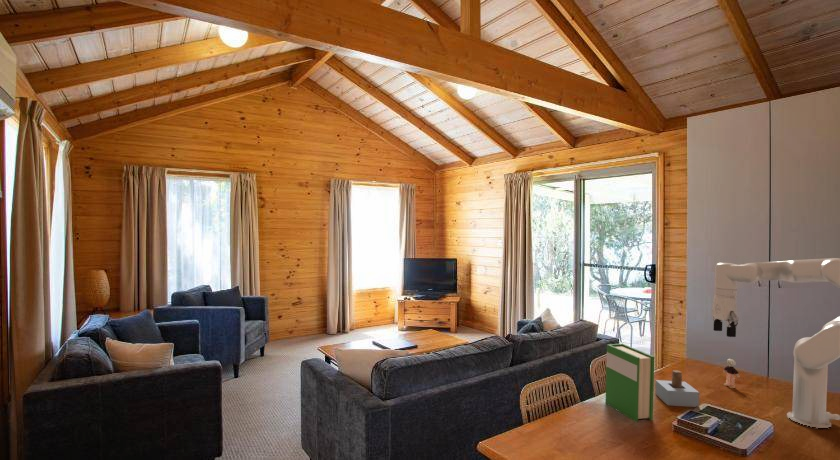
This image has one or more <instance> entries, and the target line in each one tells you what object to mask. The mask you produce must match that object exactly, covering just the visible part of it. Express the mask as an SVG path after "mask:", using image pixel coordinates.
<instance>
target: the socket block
mask: <svg viewBox="0 0 840 460" xmlns="http://www.w3.org/2000/svg"><path fill="white" fill-rule="evenodd" d="M654 387H655V388H654V390H655V391H654V392H655V393H654V394H655V395H656V396H657V397H658V399H660V400H661V401H663V403H664V404H666V406H674V407H675V406H676V407H688V408H689V407H692V408H693V407H694V408H697V407H696V406H699V407H700V392H699V391H698V390H697V389H696V388H694V386H692V385H690V384H689V383H687V382H686V381H683V380H682V388H672V380H663V379H660V380H659V379H656V380H655V383H654Z"/></svg>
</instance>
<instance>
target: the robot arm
mask: <svg viewBox="0 0 840 460" xmlns="http://www.w3.org/2000/svg"><path fill="white" fill-rule="evenodd" d="M714 274H715V275H714V276H715V277H714V296H713V301H712V308H711V316H712V317H713V318H712V320H713V321H712V322H713V331H714V332H722V331H723V322H726V324H727V326H726V337H728V338H736V335H737V328H738V324H739V320H740V319H739V316H738V311H737V310H738V306H737V304H738V303H737V295H738V294H737V293H738V292H737V290H738V282H740V283H743V284H744V283H745V284H753V283H755V282H759V281H763V282H764V281H784V282H788V283H821V282H822V283H823V282H824V283H825V282H826V283H827V282H829V283H830V284H832V285H833V286H835V287H837V288H838V289H840V257H831V258H829V257H828V258H813V259H808V258H807V259H792V260H790V259H789V260H782V261H763V262H748V263H744V264H735V263H733V262H731V263H730V262H718V263H716V265H715V271H714ZM792 355H793V359H794V362H793V383H792V411H788V412H787V413H786V417H787V419H789V418H790V419H791V420H793V421H795V422H798V423H800V424H799V425H801V424H803V425H802V426H804V425H807V426H806V427H808V426H810V427H809V428H812V427H816V428H815V429H818V428H828V427H831V428H832V423H831V422H830V421H832V420H835V421H840V414H837V413H831V412H830V411H827V397H828V393H827V392H828V370H829V368H828V367H829V366H828V365H830V364H831V363H834V361H836V360H838V359H840V315H838V316H837V317H836V318H834V319H832V320H831V321H828V322H827V323H826V324H824V325H823V326H822V328H821V330H820V331H818V332H816V333H815V334H813V335H812V336H811V337H810V336H806V337H802V338H800V339H798V340H797V341H796V342H795V344H794V347H793V354H792ZM790 419H789V420H790ZM791 420H790V421H791ZM793 421H792V422H793ZM795 422H794V423H795ZM798 423H797V424H798ZM828 429H829V428H828Z"/></svg>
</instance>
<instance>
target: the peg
mask: <svg viewBox="0 0 840 460" xmlns="http://www.w3.org/2000/svg"><path fill="white" fill-rule="evenodd" d="M671 381H672V388H682V381H683V371H680V370H677V369H676V370H675V369H674V370H672V371H671Z"/></svg>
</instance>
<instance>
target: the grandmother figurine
mask: <svg viewBox="0 0 840 460" xmlns="http://www.w3.org/2000/svg"><path fill="white" fill-rule="evenodd" d="M726 362H727V365H726V366H725V368H724V369H723V371H722V373H723V374H726V377H725V379H726V380H725V383H723V386H725V387H728V388H730V389H734V388H736V387H735V382H736V381H735V379H736V378H738V379H739V378H740V372H739V371H738V370H737V369H736V368H735V367H734V366H736V365H737V363H736V361H735V360H734V359H733V358H728V359H727V360H726ZM735 376H736V378H735Z"/></svg>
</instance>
